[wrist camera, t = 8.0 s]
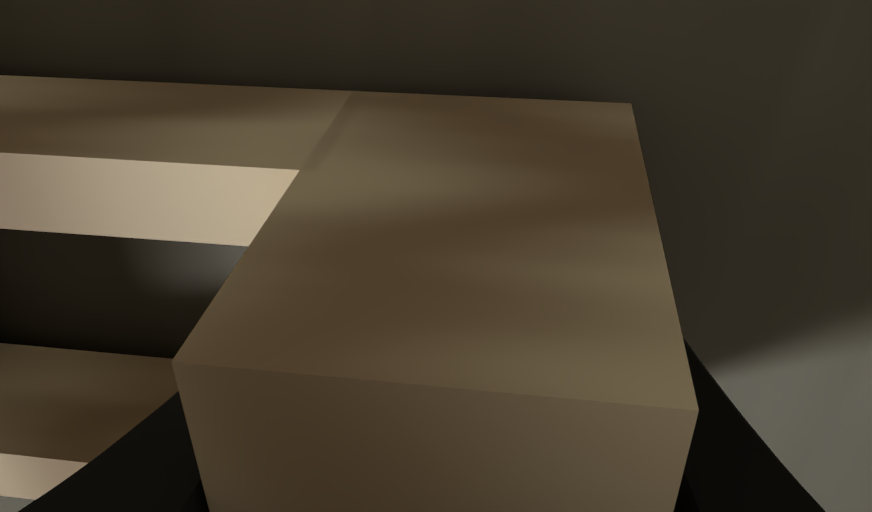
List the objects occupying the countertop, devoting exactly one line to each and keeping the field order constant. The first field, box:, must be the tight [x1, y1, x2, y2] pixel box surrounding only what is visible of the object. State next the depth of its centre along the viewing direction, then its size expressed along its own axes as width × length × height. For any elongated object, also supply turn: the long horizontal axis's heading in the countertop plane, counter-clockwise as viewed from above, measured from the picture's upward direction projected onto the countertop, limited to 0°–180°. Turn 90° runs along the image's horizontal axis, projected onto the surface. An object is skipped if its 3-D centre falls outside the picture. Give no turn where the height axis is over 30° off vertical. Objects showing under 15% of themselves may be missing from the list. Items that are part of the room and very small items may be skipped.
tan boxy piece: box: [0, 75, 699, 512], centre depth 9 cm, size 12×9×6 cm
